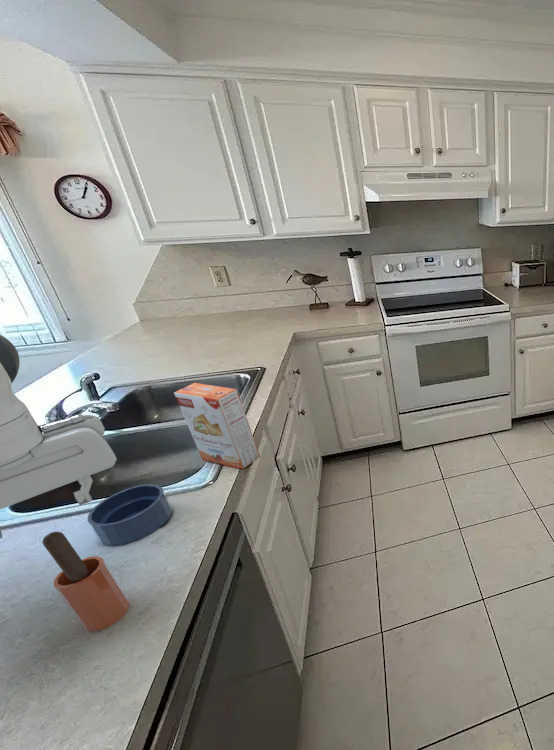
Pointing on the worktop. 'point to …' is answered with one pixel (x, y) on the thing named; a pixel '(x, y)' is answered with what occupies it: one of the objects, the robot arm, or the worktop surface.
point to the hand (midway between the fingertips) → (42, 519)
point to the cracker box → (218, 424)
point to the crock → (94, 596)
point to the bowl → (130, 514)
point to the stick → (65, 556)
